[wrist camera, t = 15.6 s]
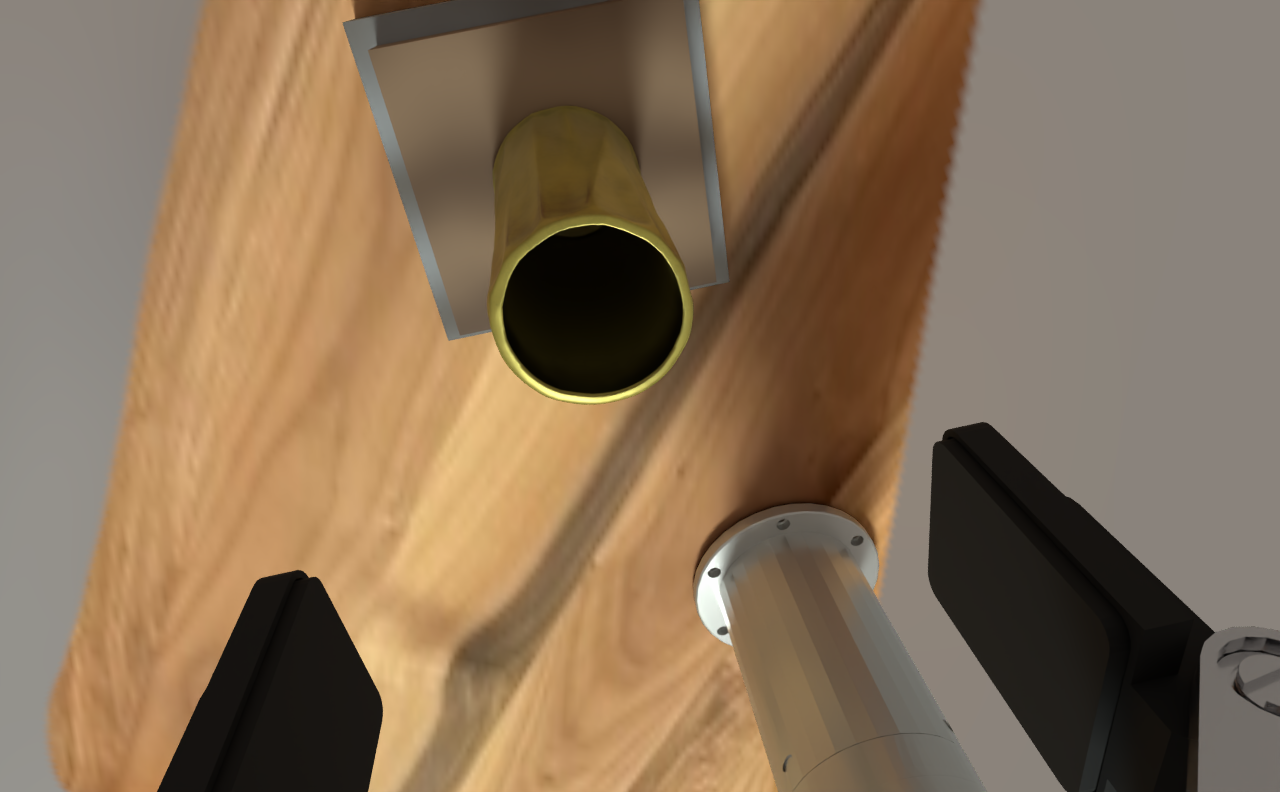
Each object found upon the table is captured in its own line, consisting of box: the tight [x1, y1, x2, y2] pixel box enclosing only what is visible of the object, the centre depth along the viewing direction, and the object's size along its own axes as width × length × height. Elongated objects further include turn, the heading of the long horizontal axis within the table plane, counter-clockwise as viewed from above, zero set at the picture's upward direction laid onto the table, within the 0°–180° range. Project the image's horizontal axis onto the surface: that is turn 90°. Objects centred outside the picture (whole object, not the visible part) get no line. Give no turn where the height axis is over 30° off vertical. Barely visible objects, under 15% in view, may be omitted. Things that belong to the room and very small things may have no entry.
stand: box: [343, 0, 729, 341], centre depth 33 cm, size 14×14×4 cm
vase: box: [487, 106, 693, 405], centre depth 25 cm, size 6×6×14 cm
